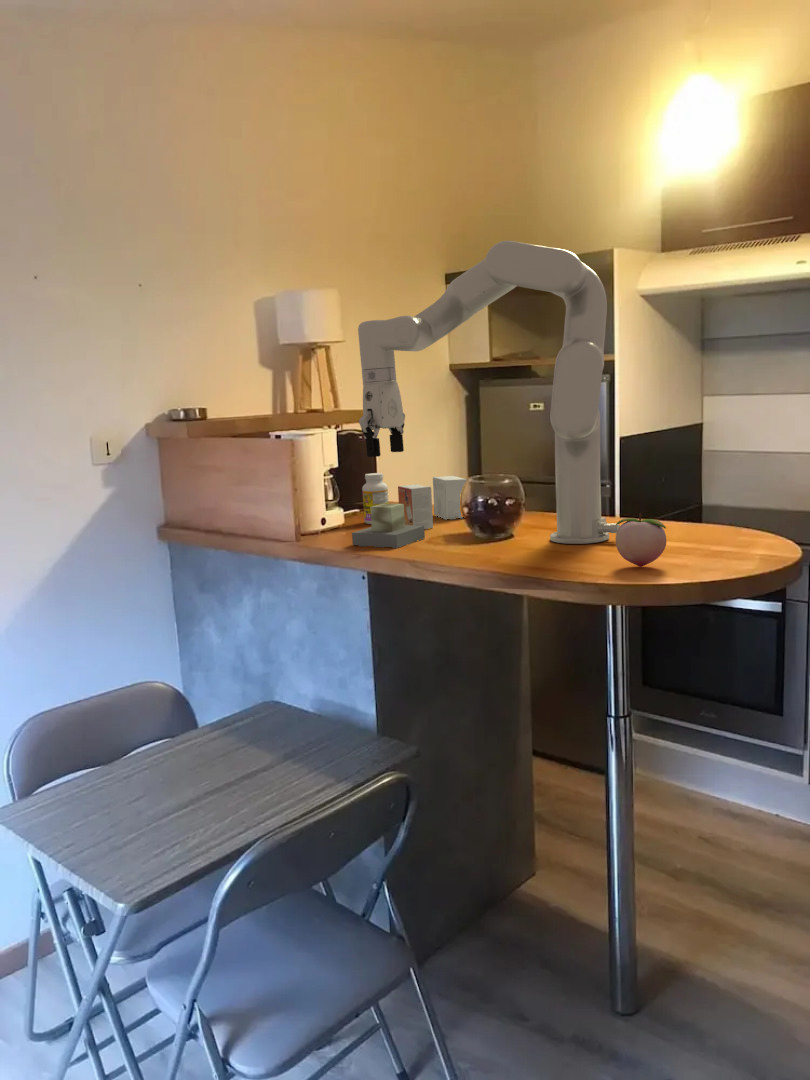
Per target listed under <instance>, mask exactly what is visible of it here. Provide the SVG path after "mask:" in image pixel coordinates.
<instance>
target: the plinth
mask: <svg viewBox="0 0 810 1080" xmlns="http://www.w3.org/2000/svg"><path fill="white" fill-rule="evenodd" d="M351 538H352V539H351V541H352V546H353V545H359V546H358V547H366V546H374V547H373V548H384V547H392V548H391V549H399V548H401V546H402V547H405V546H408V545H411V544H413V543H412V542H414V543H416V542H415V541H417V540H419V541H421V540H420V539H422V540H424V539H423V538H425V539H426V535H425V530H424V526H415V525H405V528H403V529H399V530H396V531H393V532H386V531H372V526H370V527H367V528H366V527H365V528H364V529H360V530H357V531H354V532H351ZM417 542H418V541H417ZM410 543H411V544H410ZM407 544H408V545H407ZM404 545H405V546H404ZM398 547H399V548H398Z"/></svg>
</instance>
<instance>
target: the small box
mask: <svg viewBox="0 0 810 1080" xmlns="http://www.w3.org/2000/svg"><path fill="white" fill-rule="evenodd" d="M397 495H398V504H404V518H405V525H415V526H424V529H425V530H429V529H428V528H432V529H433V528H434V520H433V518H434V517H433V501H432V500H433V498H432V486H428V485H422V484H418V483H417V484H414V483H413V484H408V485H398V486H397Z"/></svg>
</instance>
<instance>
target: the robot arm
mask: <svg viewBox="0 0 810 1080" xmlns="http://www.w3.org/2000/svg"><path fill="white" fill-rule="evenodd" d="M517 287H520V288H525V289H531V290H536V291H543V292H550V293H552V294H553V295H556V296H558V297H560V298H562V300H563V302H564V304H565V316H564V331H563V339H562V346H561V349H560V350H559V351H558V354H557V355H556V359H555V361H554V362H555V363H554V371H553V372H554V373H553V381H552V392H551V404H550V411H549V412H550V414H549V415H550V417H549V419H550V424H551V427H552V430H553V431H554V463H555V470H554V472H555V473H554V474H555V500H556V502H555V503H556V506H555V507H556V531H554V532H552V533H551V534H549V535H550V536H549V539H550V541H551V542H554V543H557V544H566V545H568V544H569V545H584V544H585V545H587V544H595V543H597V544H598V543H602V542H605V541H607V540H609V539H610V534H616V533H617V530H618V528H619V527H620V526H621V525H620V524H618V525H616V524H617V523H608V522H607V521H606V517H605V516H604V517H603V516H602V498H601V497H602V495H601V493H602V492H601V488H602V487H601V413H600V408H599V406H600V398H601V397H600V396H601V386H602V377H603V370H604V368H605V357H604V356H605V355H604V353H605V341H606V340H605V339H606V329H607V328H606V326H607V325H606V324H607V313H608V310H607V309H608V303H607V301H608V300H607V294H606V290H605V286H604V284H603V282H602V280H601V279H600V277H599V275H598V274H597V273H596V272H595V271H594V270H593V269H592V268H591V267H589V266H588V265H586V263H584V262H582V261H581V259H580V258H579V256H577V255H576V254H575V253H574V252H572V251H569V250H567V249H562V248H557V247H549V246H543V245H537V244H532V243H531V244H530V243H526V242H519V241H514V240H501V241H499V242H497V243H495V244H494V245H493V246H491V247H490V249H489V250H488V251H487V253H486V256H485V258H483V259H482V260H481V261H479V262H478V263H477V264H475V265H474V266H472V267H471V268H469V269H468V270H466V271H464V272H463V273H461V274H460V275H459V276H457V277H456V278H454V279H453V280H452V281H451V282H450V283H449V285H448V286H447V287H446V289H445V291H444V293H443V294H442V295H441V296H440V297H438V299H437V300H436V301H435V302H433V303H432V304H431V305H429V306H428V307H427V308H425V309H424V310H422V311H420V312H419V313H417V314H416V315H414V316H411V315H401V316H397V317H393V318H390V319H375V320H365V321H362V322H361V323H360V324H359V325H358V327H357V334H358V345H359V346H358V347H359V355H360V356H359V357H360V364H361V375H362V377H361V379H362V386H363V387H362V415H361V417H360V418H359V420H358V423H359V426H360V428H361V432H362V434H363V437H364V440H365V445H366V455H367V457H368V458H371V457H372V458H373V457H376V458H377V457H381V445H380V443H381V442H380V438H379V437H378V435H379V433H380V429H383V430H384V429H388V431H389V432H390V434H389V444H390V452H391V453H403V452H404V451H405V450H404V449H405V448H404V437H403V434H404V427H405V420H406V414H405V413H404V409H403V402H402V396H401V392H400V386H399V384H398V382H397V374H396V362H395V351H398V352H399V351H401V352H420V351H423V350H425V349H427V348H429V347H430V346H432V345H433V344H435V343H437V342H438V341H439V340H441V339H443V338H444V337H445V336H447V335H448V334H450V333H451V332H452V331H454V330H456V329H457V328H458V327H459V326H461V325H462V324H464V323H466V322H467V321H468V320H469V319H470V318H471V317H473V316H475V315H476V314H477V313H479V312H480V311H482V310H483V309H485V308H486V307H487V306H489V305H490V304H492V303H494V302H496V301H497V300H498V299H500V298H501V297H503V296H505V295H506V294H507V293H509V292H511V291H512V290H514V289H515V288H517Z"/></svg>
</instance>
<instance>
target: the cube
mask: <svg viewBox="0 0 810 1080" xmlns="http://www.w3.org/2000/svg"><path fill="white" fill-rule="evenodd" d="M371 523H372V524H371V527H372V531H386V532H393V531H396V530H399V529H403V528H405V518H404V504H399V503H389V504H380V505H376V506H372V507H371Z"/></svg>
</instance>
